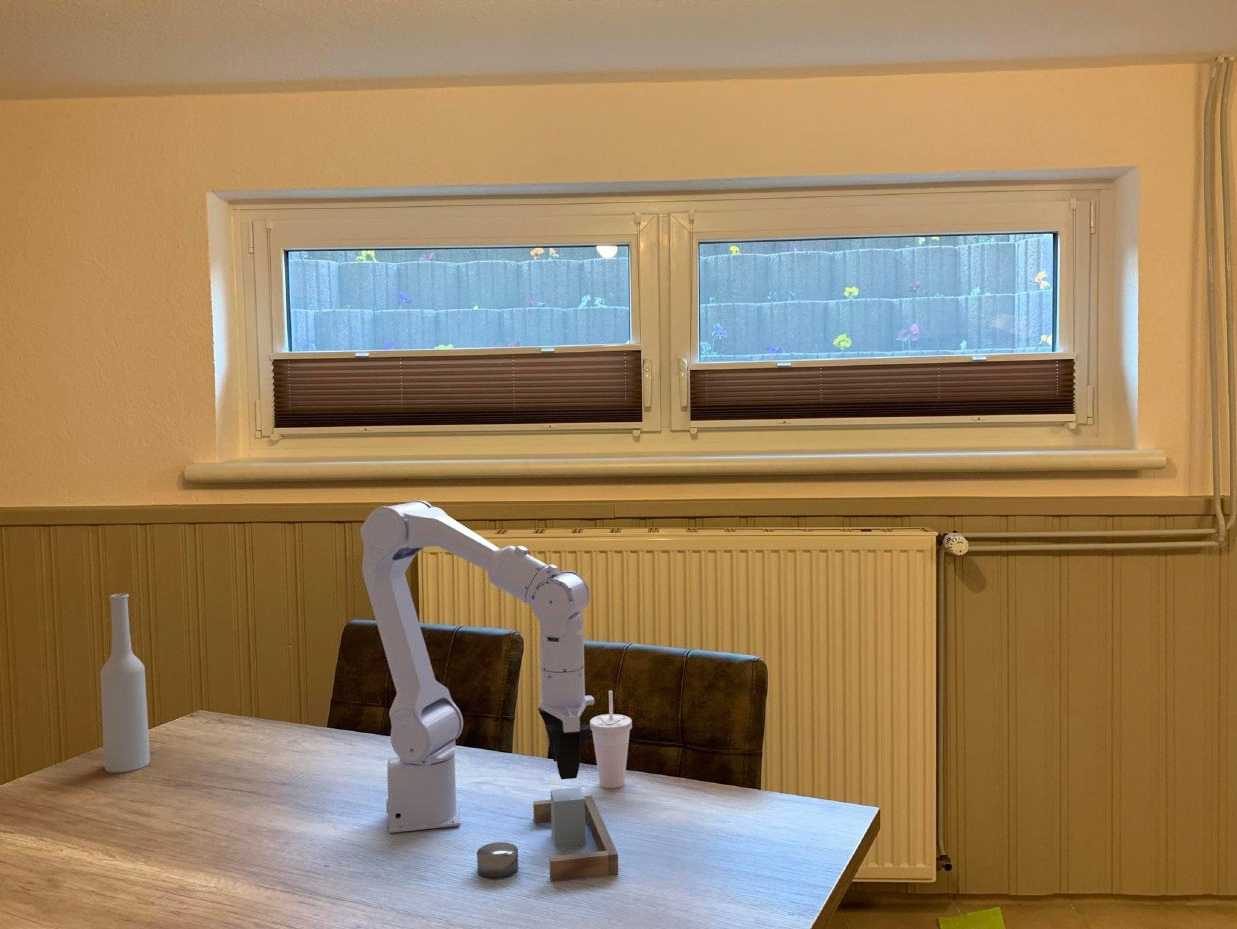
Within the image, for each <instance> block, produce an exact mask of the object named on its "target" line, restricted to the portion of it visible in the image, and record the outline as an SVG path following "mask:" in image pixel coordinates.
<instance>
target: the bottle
mask: <svg viewBox="0 0 1237 929" xmlns="http://www.w3.org/2000/svg"><path fill="white" fill-rule="evenodd" d="M129 597H130V595H129V594H128V593H116V594H110V596H109V599H110V610H111V611H110V612H111V655H110V657H109V659H108V660H107V661H106V662H105V664H104V665H102V668H101V669H100V692H101V713H102V714H101V718H102V740H103V741H102V744H103V761H104V762H103V763H104V771H105V772H107V773H109V774H112V773H114V774H120V773H121V774H125V773H129V772H133V771H138V770H140V769H143V768H146V767H147V766H148V765H149V764H150V763H151V761H150V760H151V759H150V757H151V756H150V755H151V754H150V738H149V723H148V722H149V721H148V720H149V718H148V704H147V702H148V700H147V689H146V688H147V686H146V670H145V665H144V664H143V662H142V661H141V660H140V658H138V657H137V656H136V655H135V654H134V653H133V650H132V641H131V635H130V632H131V631H130V621H129V620H130V619H129V607H128V606H129V605H128V604H129V603H128V598H129Z"/></svg>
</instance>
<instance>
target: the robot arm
mask: <svg viewBox="0 0 1237 929" xmlns="http://www.w3.org/2000/svg"><path fill="white" fill-rule="evenodd" d="M359 534H360V537H361V540H362V544H363V553H362V563H361V572H362V576H363V580H364V584H365V588H366V590H367V594H368V597H369V600H370V604H371V607H372V612H373V614H374V617H375V621H376V622H375V623H376V625H377V628H378V632H379V636H380V639H381V643H382V647H383V649H384V653H385V657H386V660H387V663H388V668H389V670H390V674H391V678H392V681H393V685H394V688H395V691H396V694H395V697H394V700H393V702H392V704H391V707H390V709H389V712H388V715H389V719H390V724H391V725H390V726H391V730H390V744H391V747H392V749H393V751H394V753H395V755H397V757H396V756H395V757H391V758H388V759H387V771H386V772H387V775H386V776H387V777H386V778H387V799H386V800H385V801H386V802H385V803H386V804H385V805H386V814H388V832H389V833H393V834H394V833H402V832H410V831H412V832H413V831H421V830H430V829H438V828H439V829H442V828H449V827H458V826H460V825H461V816H460V805H459V800H457V790H456V788H457V787H456V785H457V784H456V758H455V756H456V755H455V754H456V753H455V752H456V750H455V749H456V740H457V739H458V738H459V736H461V734H462V731H463V728H464V718H463V715H462V713H461V710H460V708H459V707H458V706H457V705H456V703H455V702H454V701H453V699H452V697H451V694H450V693H451V692H450V691H449V688H447V687H446V686H444V684H442V683H440V682H438V681H437V680H436V677H435V673H434V671H433V667H432V664H431V659H430V656H429V652H428V650H427V645H426V643H425V640H424V636H423V633H422V629H421V626H420V622H419V619H418V614H417V611H416V607H415V605H414V601H413V598H412V594H411V592H410V587H409V585H408V580H407V577H406V576H407V575H406V571H407V569H408V568H409V567H410V565H411V563H412V561H413V560H414V558H415V556H416V555H418V553H419V552H421V551H422V550H423V549H424V548H427V547H438V548H440V549H442V550H444V551H446V552H449V553H450V554H453V556H454V555H455V556H456V557H459V558H461V559H463V560H465V561H466V562H469V563H471V564H473V565H475V566H477V567H479V568H481V569H483V570H485V571H486V574H487V577H488V580H489V583H490V584H491V585H493V586H494V587H496V588H499V589H500V590H502V591H504V592H505V593H507V594H509V595H511V596H513V597H514V598H516V599H517V600H519V601H520V602H523V603H525V604H526V605H528V606H530V607H531V610H532V612H533V614H534V616H535V617H536V618H537V620H538V622H539V653H540V654H539V656H540V657H539V658H540V698H541V699H540V700H539V707H538V708H537V711H538V712H539V715H540V717H541V718H542V721H543V724H544V725H545V726H544V727H545V731H546V734H547V737H548V743H549V748H550V752H551V757H552V759H553V762H556V767H557V770H558V771H557V772H558V774H559V777H560V780H568V779H569V780H571V779H572V780H573V779H577V778H578V774H579V769H580V765H581V764H580V763H581V758H582V753H583V751H584V746H585V744H586V742H587V740H588V737H589V735H590V733H591V732H592V730H591V727H590V723H582V724H581V722H580V719H581V718H580V717H581V716H582V714H583V712H584V710H585V709H586V707H587V706H593V705H594V704H595V698H594V697H593V696H592V695H586V689H585V688H586V686H585V683H586V682H585V640H584V639H585V638H584V636H585V635H584V634H585V633H584V612H582V611H583V610H584V609H585V608H586V607H587V605H589V604H588V603H589V601H590V589H589V586H588V584H587V582H586V581H585V580H584V578H583V577H581V575H579V574H578V573H577V572H576V571H574V570H563V571H559V570H558V569H559V568H558V566H556V565H555V564H553V563H551V564H549V565H548V564H547V563H545V562H543V561H541V560H540V559H537V558H536V557H534V556H532V555H530V554H528V552H529V548H527V547H526V546H523V545H519V546H514V545H508V546H506V547H503V548H499V547H498V546H496V545H494V544H493V543H492V542H490V541H488V540H487V539H485V538H483V537H482V536H481V535H478V534H477V533H476V532H474V531H473V530H471V529H469V528H468V527H466V526H465V525H463V524H462V523H460V522H458V521H457V520H455V519H454V518H452V517H451V516H449V515H448V514H447V513H446V512H445V511H444V510H443V509H442V508H440V507H436V506H433V505H432V504H430V503H429V502H428V501H425V500H419V499H417V500H412V501H410V502H406V503H402V504H401V503H400V504H396V505H395V504H394V505H389V506H388V505H384V506H379V507H377V508H374V509H373V510H372V511H371V512H370V513H369V515H368V516H367V517H366V519H365V521H364V522H363V524H362V526H361V527H360V529H359Z"/></svg>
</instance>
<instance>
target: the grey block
mask: <svg viewBox="0 0 1237 929" xmlns="http://www.w3.org/2000/svg"><path fill="white" fill-rule="evenodd" d="M584 796H585V795H584V793H583V791H582V787H569V788H557V789H551V790H550V800H551V821H550V822H551V826H550V827H551V836H552V840H553V844H554V847H555V848H558V847H567V846H576V845H577V846H579V845H586V843H587V842H586V839H587V836H586V819H585V798H584Z"/></svg>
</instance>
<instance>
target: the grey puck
mask: <svg viewBox="0 0 1237 929" xmlns="http://www.w3.org/2000/svg"><path fill="white" fill-rule="evenodd" d="M476 861H477V862H476V864H477V865H476V866H477V870H476V871H477V874H478V876H480V877H481V878H483V879H486V880H490V881H491V880H493V881H495V880H498V881H499V880H503V879H504V880H505V879H508V878H511V877H513V876H514V875H515V874H516V873H518V871H519V848H518V847H517V846H516V845H515V844H513V843H511V842H510V843H509V842H506V841H505V842H503V841H501V842H498V841H497V842H491V843H487V844H484V845H482V846H481V847H479V848H478V849H477V852H476Z"/></svg>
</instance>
